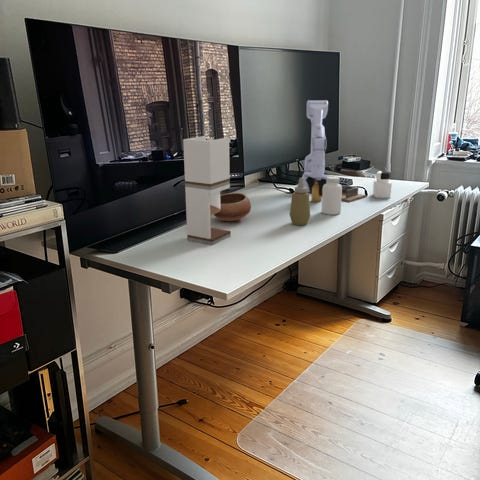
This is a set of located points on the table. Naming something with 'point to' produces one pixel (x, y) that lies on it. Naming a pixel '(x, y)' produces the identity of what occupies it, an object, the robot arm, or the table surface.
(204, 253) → the table surface
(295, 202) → the squeeze bottle
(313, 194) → the amber bottle
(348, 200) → the bottle rest
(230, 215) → the bowl
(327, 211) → the pill bottle
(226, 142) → the white tower
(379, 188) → the medicine bottle
